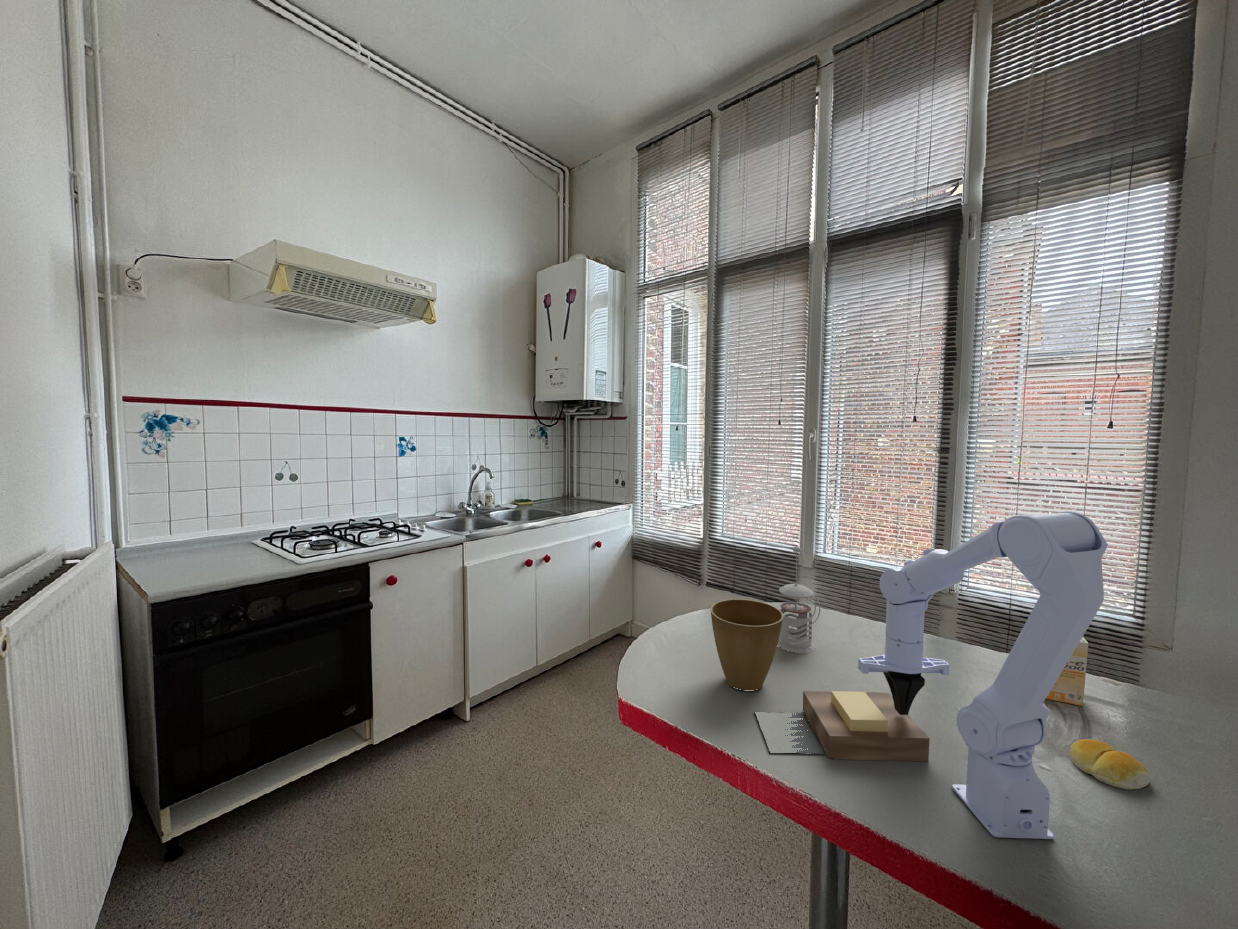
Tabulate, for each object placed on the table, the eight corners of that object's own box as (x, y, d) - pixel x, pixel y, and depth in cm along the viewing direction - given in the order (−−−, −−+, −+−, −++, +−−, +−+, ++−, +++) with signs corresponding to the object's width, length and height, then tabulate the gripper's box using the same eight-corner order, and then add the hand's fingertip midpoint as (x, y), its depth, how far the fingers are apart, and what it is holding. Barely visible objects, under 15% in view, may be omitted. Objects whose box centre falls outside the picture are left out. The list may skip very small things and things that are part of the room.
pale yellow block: (887, 731, 84) (887, 720, 84) (850, 731, 85) (851, 719, 85) (864, 702, 93) (864, 691, 93) (831, 701, 94) (831, 691, 93)
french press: (766, 639, 130) (768, 543, 128) (804, 633, 134) (806, 540, 131) (790, 655, 121) (792, 553, 119) (830, 649, 124) (833, 549, 122)
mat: (823, 755, 85) (823, 753, 85) (769, 753, 85) (769, 752, 85) (801, 713, 97) (801, 712, 97) (754, 712, 97) (754, 711, 97)
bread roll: (1092, 750, 86) (1094, 727, 86) (1159, 786, 77) (1161, 761, 77) (1054, 757, 84) (1056, 734, 84) (1118, 796, 75) (1120, 770, 75)
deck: (928, 761, 83) (929, 738, 83) (829, 759, 84) (829, 736, 83) (887, 712, 97) (888, 692, 97) (802, 711, 98) (803, 691, 97)
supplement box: (1030, 697, 102) (1034, 634, 101) (1025, 686, 106) (1028, 625, 105) (1084, 708, 98) (1089, 642, 97) (1076, 696, 102) (1080, 633, 101)
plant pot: (704, 695, 103) (705, 619, 102) (715, 662, 117) (715, 595, 116) (781, 708, 99) (782, 629, 97) (782, 672, 113) (783, 602, 111)
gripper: (934, 627, 91) (931, 700, 92) (852, 626, 92) (849, 698, 93) (958, 645, 84) (954, 723, 85) (869, 643, 85) (866, 721, 86)
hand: (901, 711), depth 89 cm, fingers closed
